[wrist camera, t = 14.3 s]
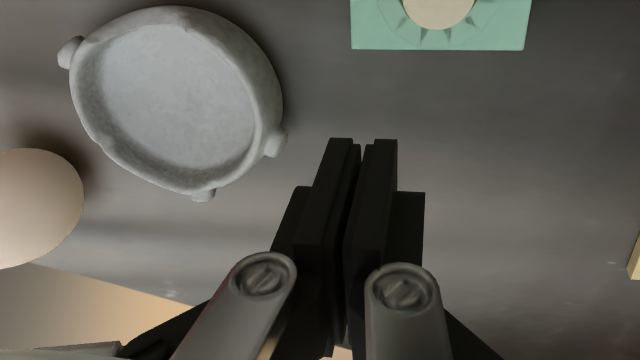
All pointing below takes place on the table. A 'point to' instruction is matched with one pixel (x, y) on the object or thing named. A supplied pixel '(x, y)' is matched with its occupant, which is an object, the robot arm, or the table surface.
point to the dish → (177, 97)
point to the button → (437, 12)
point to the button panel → (469, 34)
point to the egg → (36, 203)
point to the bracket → (635, 262)
